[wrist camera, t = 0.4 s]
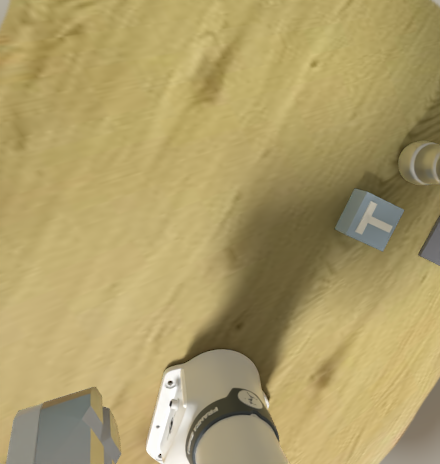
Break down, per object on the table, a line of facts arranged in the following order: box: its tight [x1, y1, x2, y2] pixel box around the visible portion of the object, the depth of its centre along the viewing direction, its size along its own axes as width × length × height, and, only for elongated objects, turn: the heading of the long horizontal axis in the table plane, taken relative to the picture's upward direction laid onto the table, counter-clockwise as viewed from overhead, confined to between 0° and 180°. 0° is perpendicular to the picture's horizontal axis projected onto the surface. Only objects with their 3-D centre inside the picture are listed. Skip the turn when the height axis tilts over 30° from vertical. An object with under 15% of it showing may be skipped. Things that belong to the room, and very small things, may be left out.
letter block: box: [335, 188, 404, 251], centre depth 65 cm, size 7×7×4 cm
